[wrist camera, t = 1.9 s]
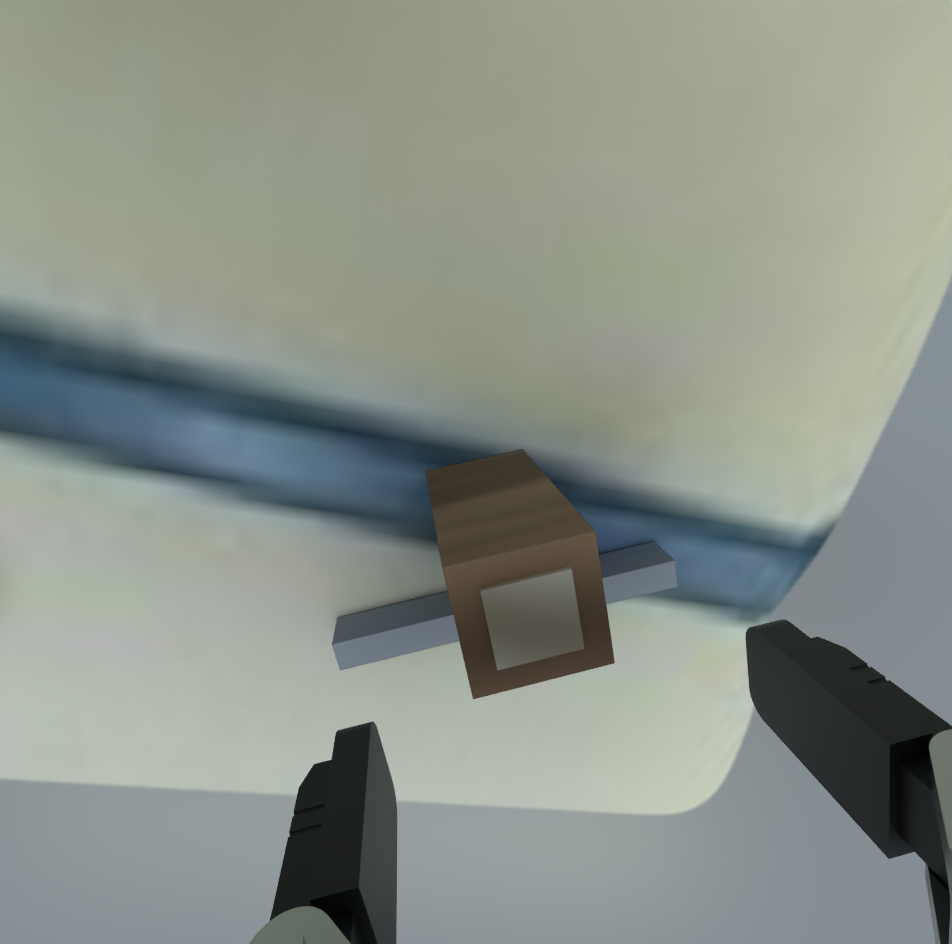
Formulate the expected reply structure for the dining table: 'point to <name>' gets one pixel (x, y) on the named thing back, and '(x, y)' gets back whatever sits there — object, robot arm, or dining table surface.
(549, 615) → the walnut block
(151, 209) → the dining table surface
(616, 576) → the rail
